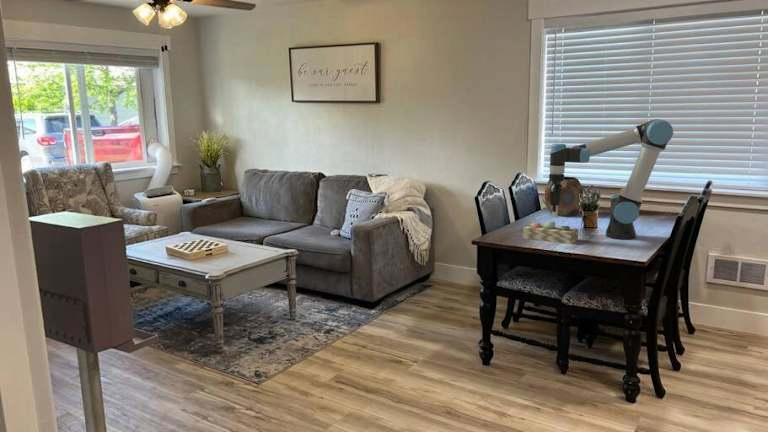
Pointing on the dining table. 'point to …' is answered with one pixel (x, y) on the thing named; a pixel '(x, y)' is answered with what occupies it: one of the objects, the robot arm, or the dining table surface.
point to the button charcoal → (565, 228)
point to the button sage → (550, 225)
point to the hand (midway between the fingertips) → (554, 217)
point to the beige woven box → (550, 234)
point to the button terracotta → (536, 225)
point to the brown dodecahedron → (566, 197)
